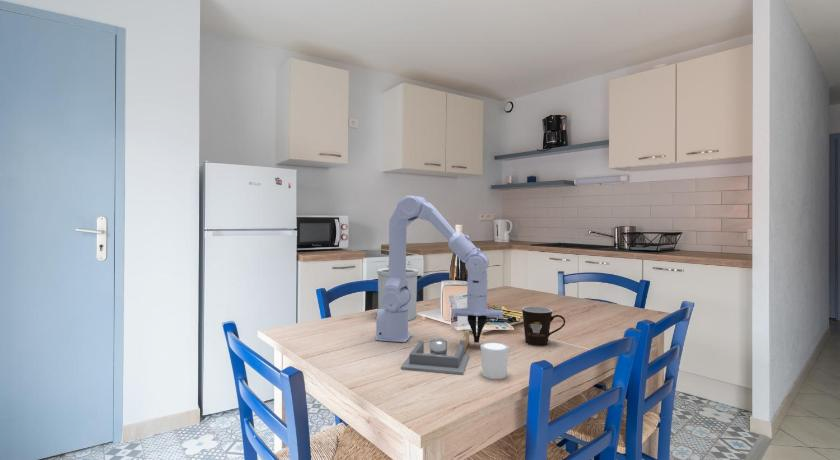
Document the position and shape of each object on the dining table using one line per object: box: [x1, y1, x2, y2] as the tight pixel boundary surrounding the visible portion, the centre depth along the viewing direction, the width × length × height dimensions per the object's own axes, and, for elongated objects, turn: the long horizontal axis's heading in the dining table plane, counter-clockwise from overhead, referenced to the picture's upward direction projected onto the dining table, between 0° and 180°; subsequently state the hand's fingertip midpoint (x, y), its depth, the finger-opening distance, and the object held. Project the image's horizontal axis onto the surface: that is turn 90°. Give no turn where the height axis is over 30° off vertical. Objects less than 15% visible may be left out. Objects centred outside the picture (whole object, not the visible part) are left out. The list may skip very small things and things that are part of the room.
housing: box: [400, 340, 471, 375], centre depth 113 cm, size 15×14×3 cm
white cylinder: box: [480, 341, 510, 380], centre depth 104 cm, size 7×7×7 cm
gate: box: [459, 329, 470, 354], centre depth 124 cm, size 12×1×4 cm, turn 167°
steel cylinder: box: [429, 338, 448, 356], centre depth 115 cm, size 4×4×5 cm
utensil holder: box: [376, 267, 419, 321], centre depth 160 cm, size 15×15×18 cm
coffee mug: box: [521, 305, 566, 347], centre depth 129 cm, size 12×9×10 cm
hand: (476, 341), depth 126 cm, fingers closed
